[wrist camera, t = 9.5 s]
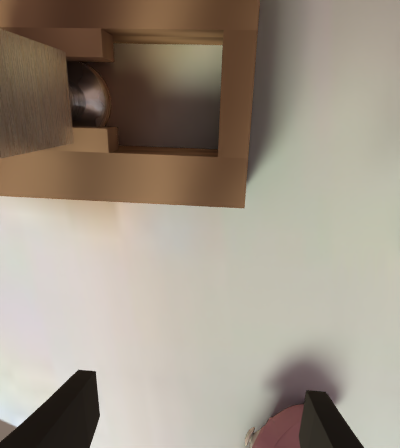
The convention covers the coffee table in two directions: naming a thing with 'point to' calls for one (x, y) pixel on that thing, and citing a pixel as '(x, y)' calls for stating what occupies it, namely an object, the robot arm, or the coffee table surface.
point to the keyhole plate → (108, 136)
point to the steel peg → (45, 96)
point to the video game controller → (278, 430)
